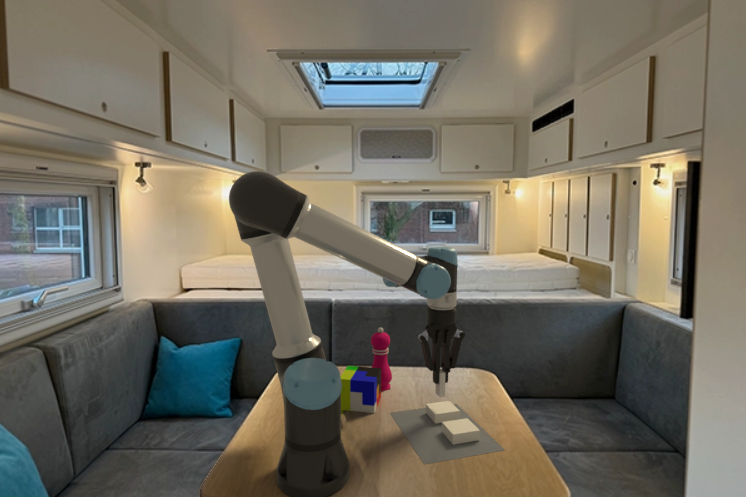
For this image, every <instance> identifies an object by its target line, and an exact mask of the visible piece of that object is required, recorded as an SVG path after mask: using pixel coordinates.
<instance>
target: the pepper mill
mask: <svg viewBox="0 0 746 497" xmlns="http://www.w3.org/2000/svg"><path fill="white" fill-rule="evenodd" d="M370 344H371V345H372V351H371V352H372V354H373V362H372V365H371V366H370V367H371V368H381V392H385V391H389V390H390V391H391V384H390V383H391V381H392V379H393V374H392V370H391V368H390V365H389V363H388V354H389V350H390V349H389V346H390V344H391V337H390V335H389V334H388V333H387V332H385V331H384V328H383V327H378V328H377V332H375V333H373V334H372V336H370Z"/></svg>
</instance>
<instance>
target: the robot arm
mask: <svg viewBox="0 0 746 497" xmlns="http://www.w3.org/2000/svg"><path fill="white" fill-rule="evenodd" d="M228 203H229V208H230V210H231V213H233V215H234V220H235V223H236V227H237V231H238V234H239V238H240V241H241V242H243V243H245V245H246V244H247V246H249V248H250V251H251V254H252V258H253V262H254V263H253V264H254V266H255V270H256V273H257V276H258V280H259V284H260V288H261V292H262V295H263V299H264V303H265V306H266V309H267V313H268V317H269V320H270V324H271V329H272V332H273V336H274V340H275V343H276V346H275V347H274V349H273V350H272V352H271V354H272V357H273V361H274V364H275V369H276V372H277V376H278V379H279V383H280V389H281V394H282V402H283V412H284V413H283V414H284V444H283V447H282V451H281V454H280V455H279V456H280V457H279V460H278V463H277V466H276V484H277V486H278V488H279V489H280V490H281V491H282V493H284V494H286V495H287V496H289V497H328V496H331V495H333V494H335V493H337V492H339V491H340V490H341V489H342V488H343V487H345V485H346V484H347V482H348V480H349V478H350V460H349V458H348V455H347V452H346V449H345V446H344V442H343V440H342V414H341V388H342V383H341V378H340V376H341V371H340V369H339V367H338V366H337V365H336V364H335V363H333V362H332V361H327V360H326V355H325V351H324V348H323V343H322V340H321V337H319V336H317V335H315V334H314V333H313V330H312V326H311V322H310V317H309V314H308V310H307V307H306V303H305V300H304V296H303V292H302V288H301V284H300V279H299V275H298V273H297V267H296V264H295V260H294V256H293V252H292V249H291V245H290V241H289V239H292V238H296V239H297V240H300V241H302V242H304V243H306V244H308V245H310V246H312V247H315V248H318V249H319V250H322V251H324V252H326V253H328V254H331V255H332V256H335V257H337V258H339V259H341V260H344V261H346V262H348V263H350V264H353V265H355V266H357V267H359V268H361V269H363V270H365V271H367V272H370V273H372V274H375V275H376V276H378V277H381V279H382V281H383V284H384V286H385V287H387V288H405V289H406V290H409V291H410V292H412V293H415V294H417V295H420V297H422V298H424V299H426V305H427V309H426V326H425V329H424V331H423V332H422V333H417V334H416V337H417V339H418V340H419V342H420V345H421V350H422V355H423V359H424V363H425V368H426V369H428V370H429V371H430V372H432V382H433V383H434V384H435V390H434V391H435V394H436V395H437V396H438V397H439V398H444V397H446V384H447V383H448V382H449V373H451V369H453V370H454V369H455V368H456V366H457V362H458V357H459V353H460V350H461V345H462V342H463V339H464V338H465V336H466V333H465V332H463V331H462V330H461V329H458V326H457V324H456V321H457V308H456V307H457V298H458V297H457V293H458V267H459V263H458V252H457V250H456V248H454V247H448V246H434V247H433V246H431V247H429V248H428V250H427V254H426V255H420V256H419V255H416V254H415V253H412V252H411V251H409V250H406V249H405V248H403V247H400V246H398V245H396V244H395V243H392V242H390V241H388V240H387V239H384V238H382V237H381V236H378V235H377V234H375V233H372V232H370V231H368V230H366V229H364V228H362V227H360V226H358V225H356V224H354V223H352V222H351V221H348V220H345V219H344V218H342V217H341V216H338V215H336V214H334V213H332V212H330V211H327V210H326V209H325V208H324V209H323V208H322V207H319V206H318V205H315V204H313V203H312V202H311V201H310V198H309V196H308V195H307V194H305V193H303V192H301V191H300V190H297V189H295V188H293V187H292V186H290V185H289V184H287V183H285V182H284V181H283V180H281V179H279V178H278V177H276V176H275V175H273V174H271V173H269V172H266V171H261V170H256V171H250V172H246V173H244V174H242V175H240V176H239V177H238V178H237V179H236V180H235V181H234V183H233V184H232V186H231V188H230V190H229V194H228ZM429 338H430V340H431V345H432V348H431V349H432V353H431V349H430V344H429ZM451 340H452V341H451Z"/></svg>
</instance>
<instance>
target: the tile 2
mask: <svg viewBox="0 0 746 497" xmlns="http://www.w3.org/2000/svg"><path fill="white" fill-rule="evenodd" d="M442 433H443V434H444V435H445V436H446V437H447V438H448V440H449V441H450V442H451V443H452V444H453V445H454V444H460V443H467V442H473V441H479V440H480V430H479V429H478V428H477V427H476V426H475V425H474V424H473V423H472V422H471V421H470V420H469V419H468V418H466V419H459V420H452V421H445V422H442Z"/></svg>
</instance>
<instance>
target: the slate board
mask: <svg viewBox="0 0 746 497" xmlns="http://www.w3.org/2000/svg"><path fill="white" fill-rule="evenodd" d="M452 404H453V405H454V406H455V407H456V408H457V409H458V410H459V411H460V419H466V418H468V419H469V420H470V421H471V422H472V423H473V424H474V425H475V426H476V427H477V428H478V429H479V430H480V440H479V441H473V442H467V443H460V444H454V445H453V444H452V443H451V442H450V441H449V440H448V438H447V437H446V436H445V435H444V434H443V433H442V423H436V424H435V423H434V422H433V421H432V420H431V418H430V417H429V416H428V415H427V414H426V407H421V408H414V409H406V410H401V411H392V412H391V411H390V412H389V414H390V416H391V417H392V419H393V420H394V421H395V424H396V425H397V426H398V427H399V429H400V431H401V432H402V433H403V435H404V436H405V438H406V440H407V441H408V442H409V444H410V446H411V447H412V448H413V450H414V451H415V453H416V454H417V456H418V457H419V459H420V460H421V462H422V463H423V465H429V464H436V463H440V462H445V461H450V460H457V459H458V460H459V459H463V458H468V457H474V456H475V457H476V456H479V455H481V456H482V455H485V454H493V453H497V452H503V451H506V449H505V448H504V447H503V446H502V445H501V444H500V443H499V442H498V441H496V440H495V439H494V438H493V437H492V436H491V435H490V434H489V432H487V431H486V430H485V429H484V428H483V427H482V426H481V425H480V424H479V423H478V422H477V421H475V420H474V419H473V418H472V416H470V415H469V414H468V413H467V412H466V411H465V410H464V409H463V408H462V407H461V406H459V404H458V403H452Z"/></svg>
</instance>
